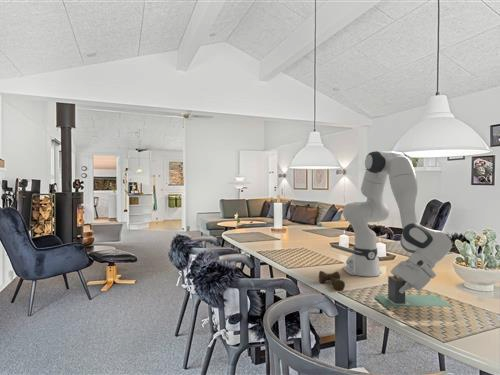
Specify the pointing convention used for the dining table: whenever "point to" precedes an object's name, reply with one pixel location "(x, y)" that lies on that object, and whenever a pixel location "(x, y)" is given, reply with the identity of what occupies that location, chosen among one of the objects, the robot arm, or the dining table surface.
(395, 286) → the block
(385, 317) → the dining table surface
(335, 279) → the kendama
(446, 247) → the robot arm
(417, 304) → the board
